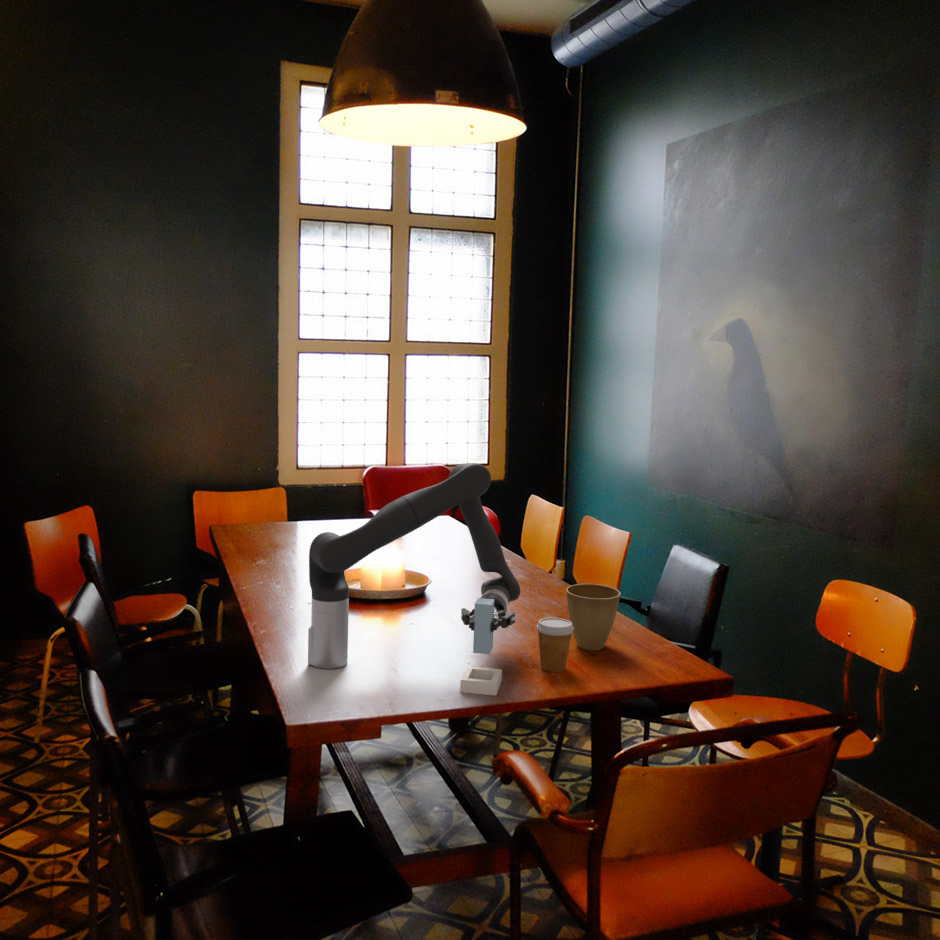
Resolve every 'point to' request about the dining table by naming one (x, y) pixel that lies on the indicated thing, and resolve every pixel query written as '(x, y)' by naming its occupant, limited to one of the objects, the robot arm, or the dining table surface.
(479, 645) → the blue-grey rectangular block
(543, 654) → the disposable coffee cup
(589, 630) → the plant pot
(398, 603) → the dining table surface
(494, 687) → the end cap
